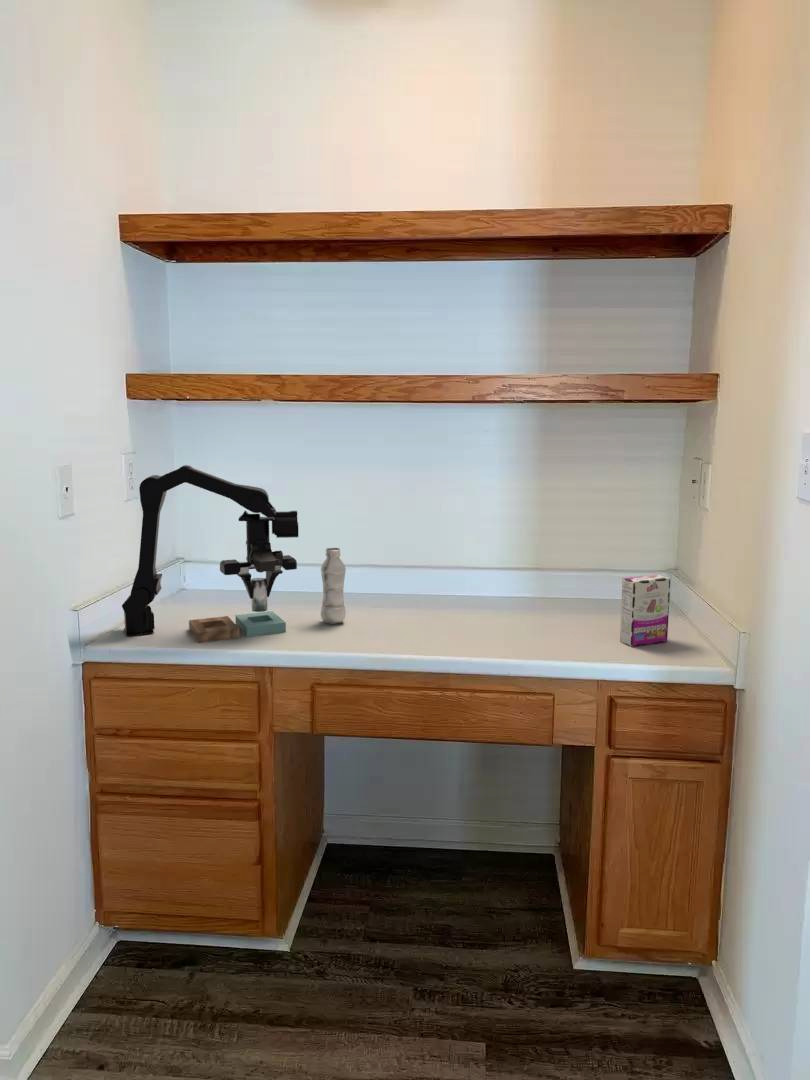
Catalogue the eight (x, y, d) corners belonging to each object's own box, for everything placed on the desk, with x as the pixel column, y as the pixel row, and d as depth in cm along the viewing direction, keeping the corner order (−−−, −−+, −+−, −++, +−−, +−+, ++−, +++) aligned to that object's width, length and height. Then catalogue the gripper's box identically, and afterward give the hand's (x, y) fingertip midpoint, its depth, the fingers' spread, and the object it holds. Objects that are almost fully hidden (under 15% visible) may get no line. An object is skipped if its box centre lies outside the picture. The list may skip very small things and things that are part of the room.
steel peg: (254, 612, 200) (253, 581, 199) (250, 608, 204) (249, 578, 202) (269, 610, 202) (268, 580, 201) (265, 607, 206) (264, 577, 204)
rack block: (247, 636, 196) (247, 627, 196) (235, 624, 207) (235, 615, 207) (285, 632, 201) (285, 622, 200) (272, 620, 211) (272, 611, 211)
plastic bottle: (329, 618, 214) (328, 545, 210) (350, 621, 211) (350, 548, 207) (315, 624, 208) (315, 549, 205) (337, 627, 205) (337, 552, 201)
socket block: (198, 642, 191) (198, 632, 191) (189, 629, 202) (188, 620, 201) (239, 637, 196) (239, 628, 195) (228, 625, 206) (227, 616, 206)
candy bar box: (654, 636, 199) (658, 573, 196) (667, 642, 195) (672, 577, 192) (617, 641, 195) (621, 577, 192) (630, 647, 191) (635, 581, 188)
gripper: (228, 545, 189) (230, 609, 191) (303, 540, 197) (304, 601, 199) (218, 538, 198) (220, 598, 201) (289, 533, 206) (290, 591, 209)
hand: (259, 597), depth 202 cm, fingers closed on steel peg, 4 cm apart
